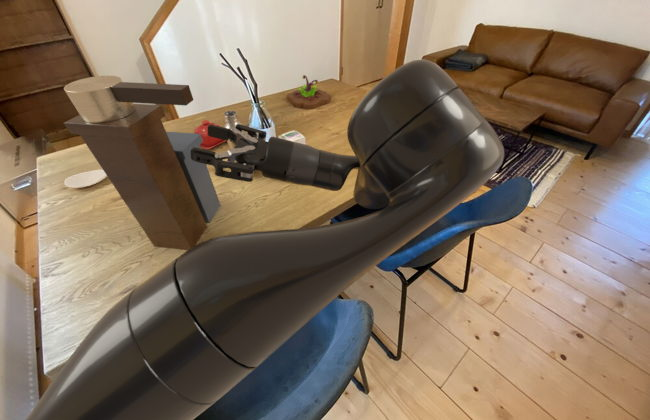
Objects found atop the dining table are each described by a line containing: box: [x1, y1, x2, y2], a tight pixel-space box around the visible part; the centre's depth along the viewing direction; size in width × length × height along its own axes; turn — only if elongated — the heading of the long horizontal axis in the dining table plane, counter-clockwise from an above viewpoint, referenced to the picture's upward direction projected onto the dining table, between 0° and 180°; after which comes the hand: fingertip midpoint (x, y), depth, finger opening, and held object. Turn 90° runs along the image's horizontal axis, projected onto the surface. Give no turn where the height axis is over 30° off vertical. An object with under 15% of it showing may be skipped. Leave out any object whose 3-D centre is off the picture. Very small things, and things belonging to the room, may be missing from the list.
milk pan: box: [63, 75, 194, 123], centre depth 46 cm, size 8×20×5 cm, turn 82°
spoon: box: [63, 168, 108, 189], centre depth 90 cm, size 9×32×4 cm, turn 122°
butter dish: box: [193, 119, 227, 150], centre depth 103 cm, size 12×12×8 cm
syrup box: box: [277, 129, 307, 145], centre depth 83 cm, size 6×6×14 cm
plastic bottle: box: [223, 110, 247, 162], centre depth 83 cm, size 6×7×20 cm
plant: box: [286, 74, 332, 110], centre depth 132 cm, size 20×20×11 cm
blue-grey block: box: [166, 131, 221, 224], centre depth 69 cm, size 8×12×22 cm, turn 82°
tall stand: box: [63, 103, 208, 251], centre depth 59 cm, size 9×12×32 cm
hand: (200, 140), depth 48 cm, fingers open, 8 cm apart
